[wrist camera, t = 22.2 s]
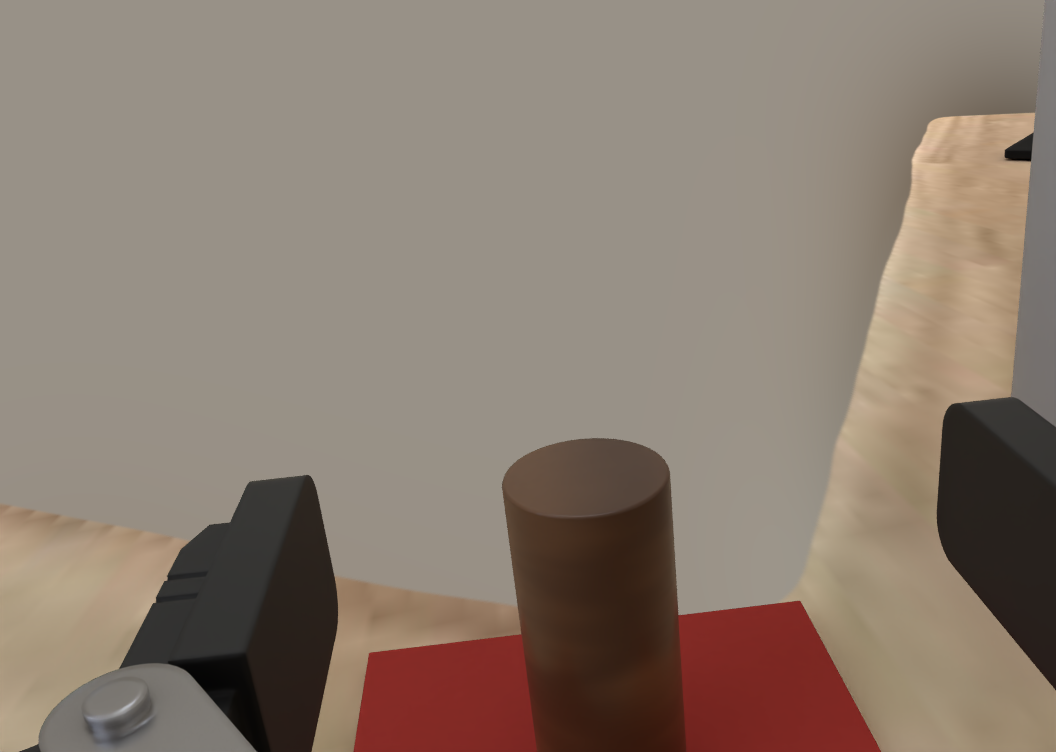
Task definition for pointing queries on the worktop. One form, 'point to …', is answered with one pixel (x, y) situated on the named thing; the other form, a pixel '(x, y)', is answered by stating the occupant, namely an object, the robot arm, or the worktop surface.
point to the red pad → (707, 678)
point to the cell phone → (1021, 149)
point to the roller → (597, 596)
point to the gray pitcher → (1040, 247)
